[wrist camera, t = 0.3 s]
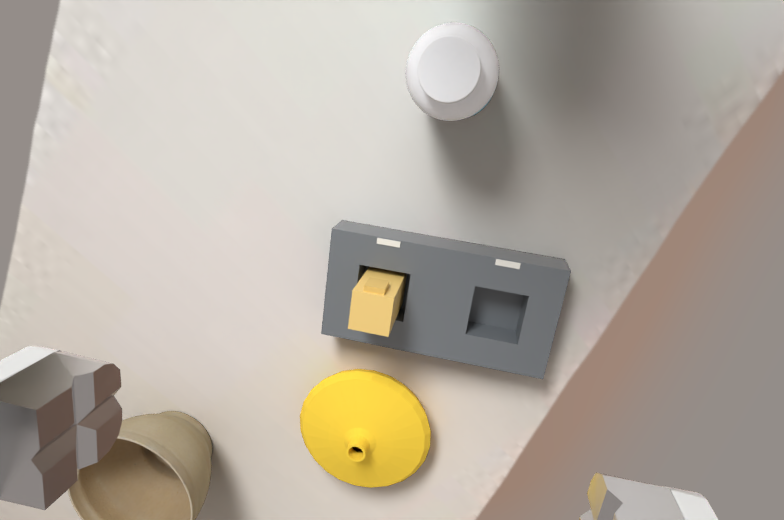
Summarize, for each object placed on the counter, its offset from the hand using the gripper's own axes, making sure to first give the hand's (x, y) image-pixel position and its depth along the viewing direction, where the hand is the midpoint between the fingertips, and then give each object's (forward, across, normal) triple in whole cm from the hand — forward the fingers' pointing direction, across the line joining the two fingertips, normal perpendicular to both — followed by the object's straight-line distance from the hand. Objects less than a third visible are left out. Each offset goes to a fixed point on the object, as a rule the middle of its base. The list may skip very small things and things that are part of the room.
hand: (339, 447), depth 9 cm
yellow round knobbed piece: (+47, +6, +32) cm, 57 cm away
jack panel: (+46, 0, +14) cm, 49 cm away
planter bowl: (+47, +31, +42) cm, 70 cm away
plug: (+46, +6, +14) cm, 48 cm away
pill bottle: (+47, +2, -8) cm, 47 cm away
